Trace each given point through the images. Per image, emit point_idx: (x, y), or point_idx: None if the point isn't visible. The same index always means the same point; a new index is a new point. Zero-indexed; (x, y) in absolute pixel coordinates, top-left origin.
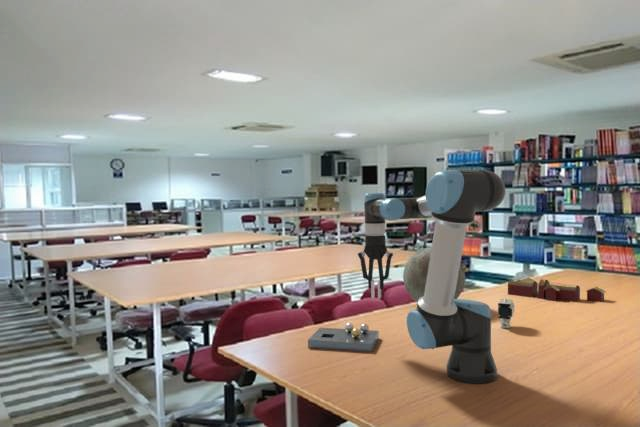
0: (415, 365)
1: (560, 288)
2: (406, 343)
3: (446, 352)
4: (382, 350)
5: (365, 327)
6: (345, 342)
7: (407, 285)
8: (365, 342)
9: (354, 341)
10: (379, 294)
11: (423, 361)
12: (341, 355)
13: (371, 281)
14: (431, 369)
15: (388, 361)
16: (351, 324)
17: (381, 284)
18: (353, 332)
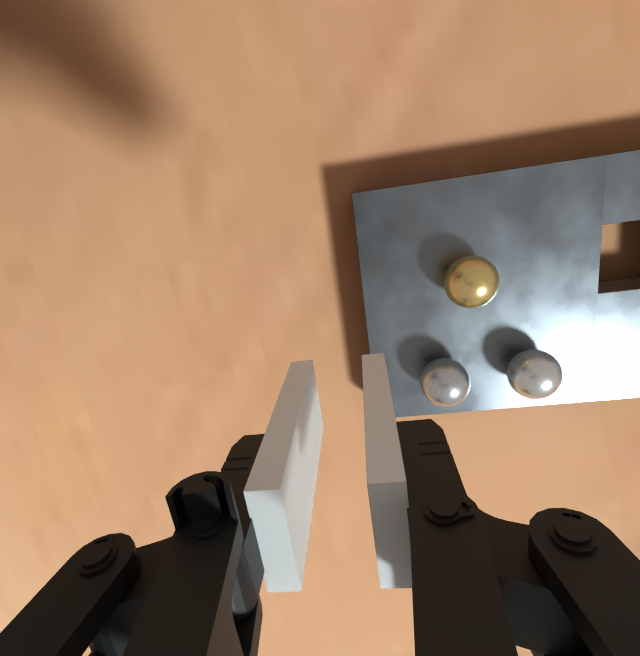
0: (100, 73)
1: None
2: (238, 367)
3: (51, 303)
4: (309, 236)
5: (435, 369)
6: (502, 171)
7: None
8: (389, 205)
9: (454, 202)
10: (289, 382)
11: (90, 147)
12: (489, 78)
13: (397, 475)
14: (19, 45)
15: (232, 80)
16: (527, 378)
17: (242, 477)
18: (482, 259)
